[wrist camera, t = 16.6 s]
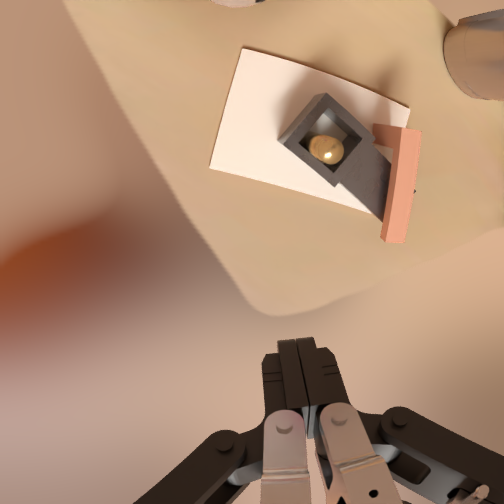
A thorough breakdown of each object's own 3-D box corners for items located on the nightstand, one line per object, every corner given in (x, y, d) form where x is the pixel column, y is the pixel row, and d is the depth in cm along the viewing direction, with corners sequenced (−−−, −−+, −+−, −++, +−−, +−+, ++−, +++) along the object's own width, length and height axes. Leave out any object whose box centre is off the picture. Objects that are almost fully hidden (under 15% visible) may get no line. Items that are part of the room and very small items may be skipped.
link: (277, 140, 28) (282, 144, 24) (315, 94, 26) (326, 92, 23) (367, 217, 32) (382, 231, 28) (401, 176, 30) (420, 186, 26)
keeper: (371, 122, 28) (401, 127, 22) (389, 125, 28) (421, 131, 22) (360, 217, 32) (385, 242, 26) (377, 218, 32) (404, 242, 26)
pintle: (301, 128, 28) (322, 133, 21) (321, 134, 28) (347, 142, 21) (295, 147, 29) (313, 159, 22) (315, 153, 29) (339, 167, 22)
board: (242, 49, 25) (242, 48, 24) (408, 109, 27) (410, 109, 27) (209, 167, 29) (209, 168, 29) (373, 213, 32) (375, 214, 31)
